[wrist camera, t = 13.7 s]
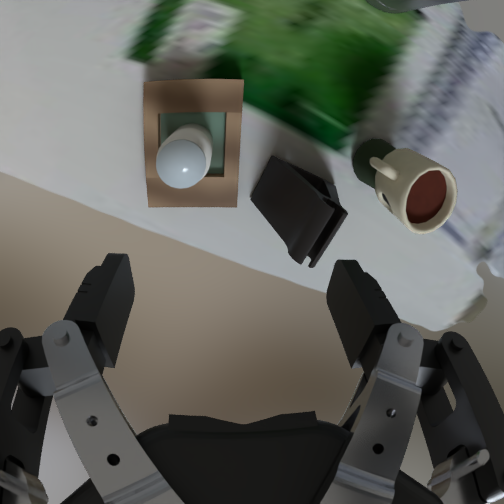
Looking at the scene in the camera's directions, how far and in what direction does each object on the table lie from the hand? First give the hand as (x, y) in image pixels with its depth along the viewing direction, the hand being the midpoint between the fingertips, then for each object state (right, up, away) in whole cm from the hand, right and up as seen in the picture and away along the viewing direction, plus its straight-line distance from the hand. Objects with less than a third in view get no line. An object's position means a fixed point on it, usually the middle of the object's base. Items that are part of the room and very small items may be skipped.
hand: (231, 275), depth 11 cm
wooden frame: (-6, +13, +20) cm, 24 cm away
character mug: (+16, +13, +23) cm, 31 cm away
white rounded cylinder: (-6, +12, +18) cm, 22 cm away
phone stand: (+6, +8, +24) cm, 26 cm away
